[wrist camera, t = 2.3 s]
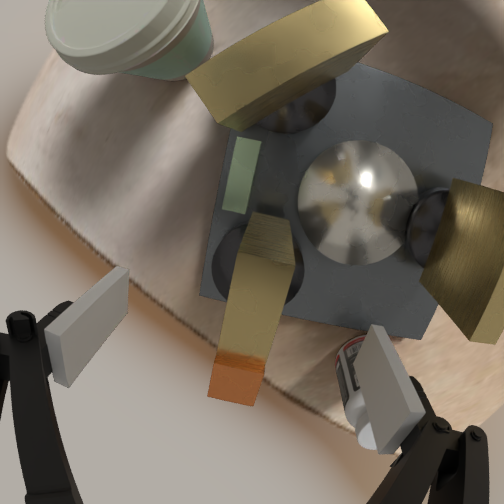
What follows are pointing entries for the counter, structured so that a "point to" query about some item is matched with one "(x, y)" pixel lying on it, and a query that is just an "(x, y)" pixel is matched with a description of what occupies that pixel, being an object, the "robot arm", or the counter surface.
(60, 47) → the coffee cup
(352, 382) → the pill bottle
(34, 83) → the counter surface
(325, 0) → the foot screw
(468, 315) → the foot screw
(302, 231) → the plate
